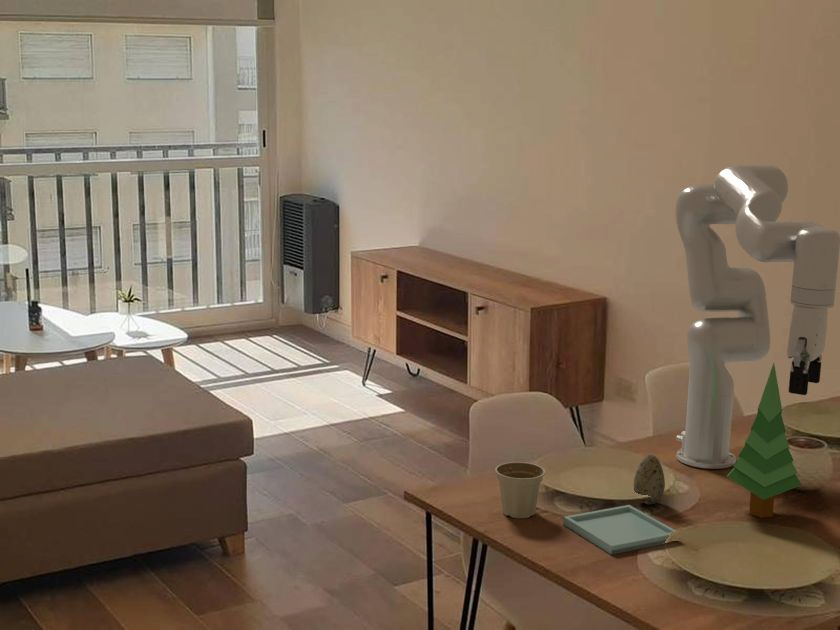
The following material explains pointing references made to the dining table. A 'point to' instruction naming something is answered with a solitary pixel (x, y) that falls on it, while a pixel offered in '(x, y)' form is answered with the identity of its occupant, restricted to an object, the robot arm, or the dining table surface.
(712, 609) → the dining table surface
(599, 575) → the dining table surface
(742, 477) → the decorative tree
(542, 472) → the flower pot
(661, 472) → the decorative egg
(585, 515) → the teal dish
